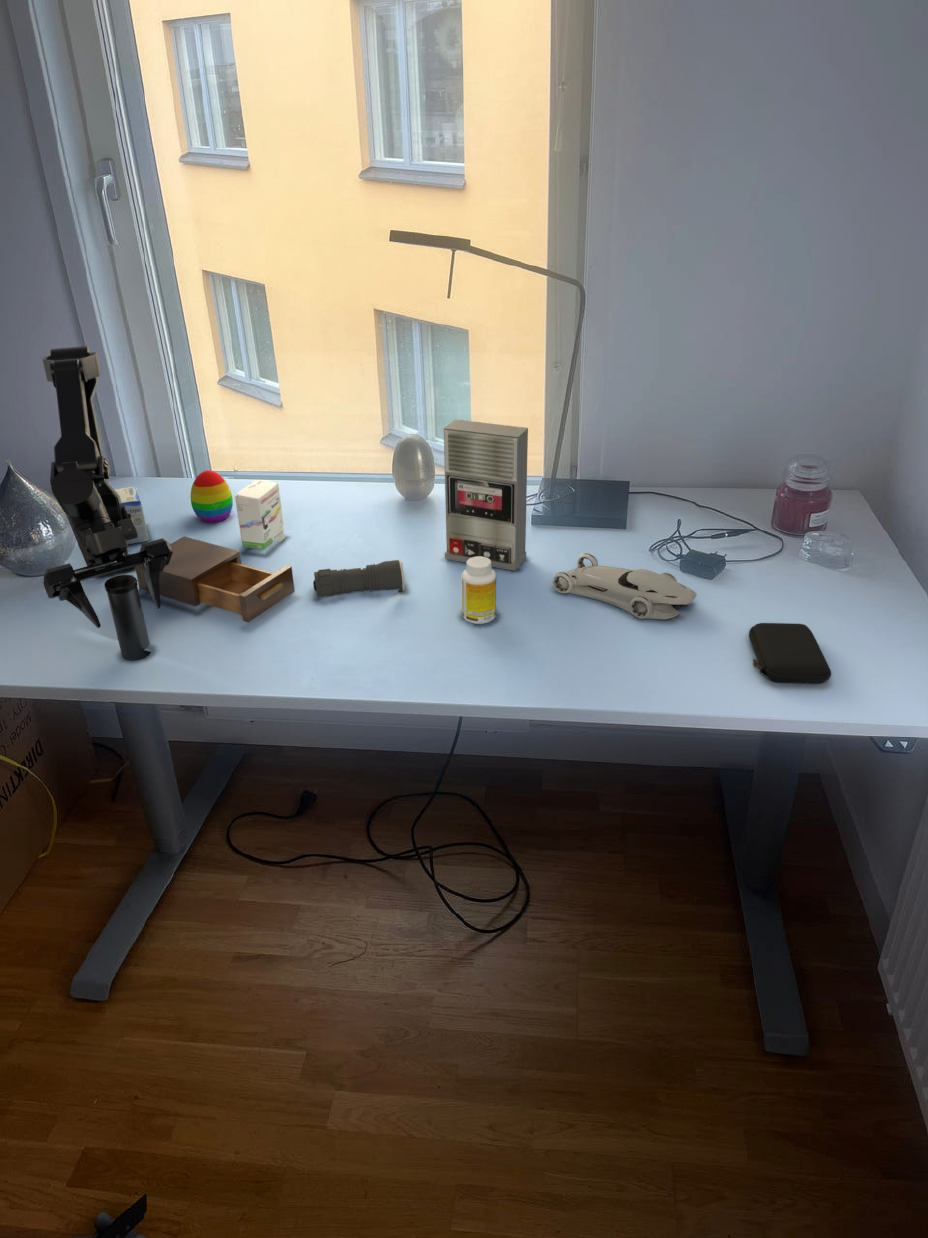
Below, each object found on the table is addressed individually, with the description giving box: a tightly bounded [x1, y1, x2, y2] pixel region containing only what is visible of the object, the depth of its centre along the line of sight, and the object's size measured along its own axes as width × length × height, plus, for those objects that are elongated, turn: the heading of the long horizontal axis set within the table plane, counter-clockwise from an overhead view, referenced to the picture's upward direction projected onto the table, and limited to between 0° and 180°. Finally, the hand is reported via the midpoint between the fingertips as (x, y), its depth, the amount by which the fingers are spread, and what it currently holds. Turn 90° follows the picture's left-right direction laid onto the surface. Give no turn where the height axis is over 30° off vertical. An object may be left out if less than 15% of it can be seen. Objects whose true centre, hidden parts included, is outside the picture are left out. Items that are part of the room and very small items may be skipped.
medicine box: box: [114, 486, 149, 545], centre depth 182 cm, size 8×4×9 cm, turn 23°
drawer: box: [196, 561, 296, 623], centre depth 157 cm, size 14×12×6 cm
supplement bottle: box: [461, 556, 497, 625], centre depth 152 cm, size 6×6×10 cm
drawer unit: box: [134, 536, 243, 607], centre depth 162 cm, size 13×12×6 cm
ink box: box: [234, 479, 286, 550], centre depth 176 cm, size 8×5×12 cm, turn 163°
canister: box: [103, 574, 152, 662], centre depth 143 cm, size 5×5×13 cm
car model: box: [552, 552, 697, 620], centre depth 158 cm, size 11×24×5 cm, turn 55°
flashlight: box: [312, 559, 406, 598], centre depth 160 cm, size 15×5×5 cm, turn 102°
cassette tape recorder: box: [443, 419, 529, 572], centre depth 166 cm, size 14×6×25 cm, turn 68°
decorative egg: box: [190, 469, 234, 523], centre depth 188 cm, size 8×8×10 cm
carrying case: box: [748, 622, 832, 685], centre depth 141 cm, size 11×3×15 cm
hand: (129, 617), depth 142 cm, fingers open, 9 cm apart
